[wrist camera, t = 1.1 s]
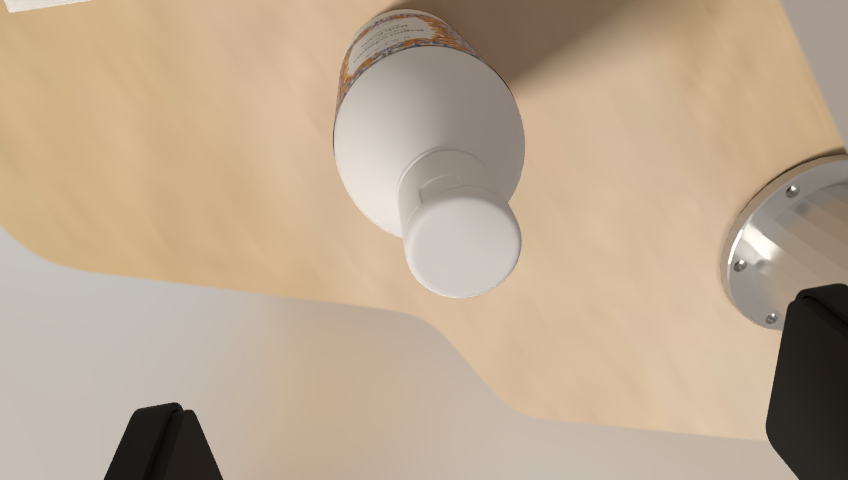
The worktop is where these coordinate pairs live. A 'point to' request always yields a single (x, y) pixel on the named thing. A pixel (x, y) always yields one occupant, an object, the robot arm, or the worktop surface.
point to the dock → (35, 4)
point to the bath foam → (431, 150)
